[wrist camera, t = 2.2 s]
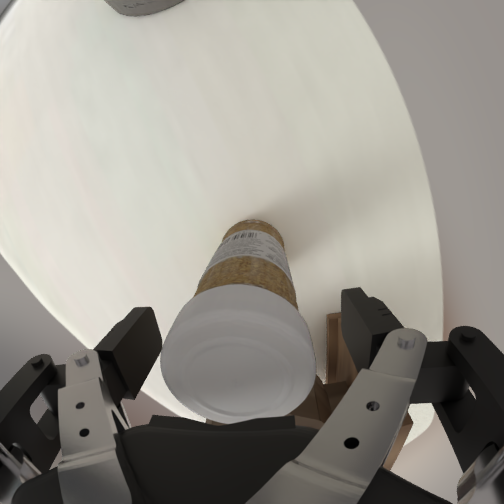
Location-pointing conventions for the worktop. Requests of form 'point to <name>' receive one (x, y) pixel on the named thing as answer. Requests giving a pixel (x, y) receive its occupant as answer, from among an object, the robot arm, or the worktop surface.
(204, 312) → the sprinkles bottle
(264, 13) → the worktop surface
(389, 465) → the bracket
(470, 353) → the robot arm
